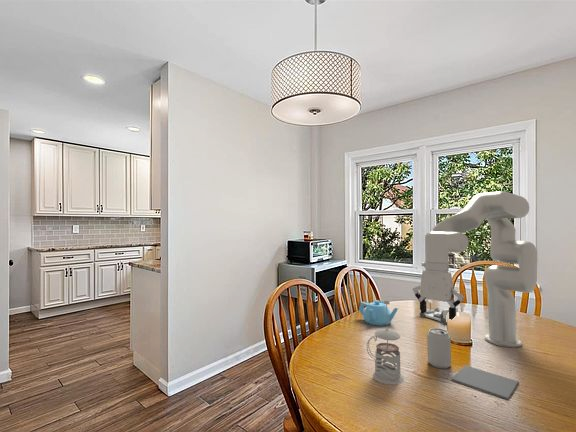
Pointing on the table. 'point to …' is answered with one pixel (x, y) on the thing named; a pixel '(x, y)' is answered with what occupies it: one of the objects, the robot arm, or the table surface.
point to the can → (439, 348)
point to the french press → (387, 357)
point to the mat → (486, 382)
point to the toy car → (436, 313)
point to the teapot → (376, 313)
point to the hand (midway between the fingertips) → (437, 315)
